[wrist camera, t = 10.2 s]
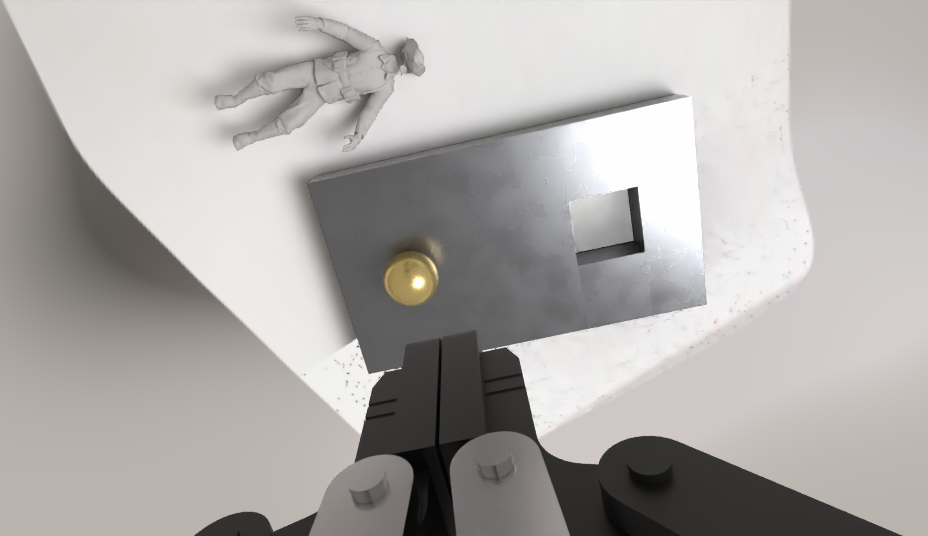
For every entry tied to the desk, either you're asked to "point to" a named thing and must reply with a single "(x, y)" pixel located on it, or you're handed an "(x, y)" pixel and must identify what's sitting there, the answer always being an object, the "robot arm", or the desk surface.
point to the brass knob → (410, 278)
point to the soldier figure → (329, 82)
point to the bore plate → (520, 230)
